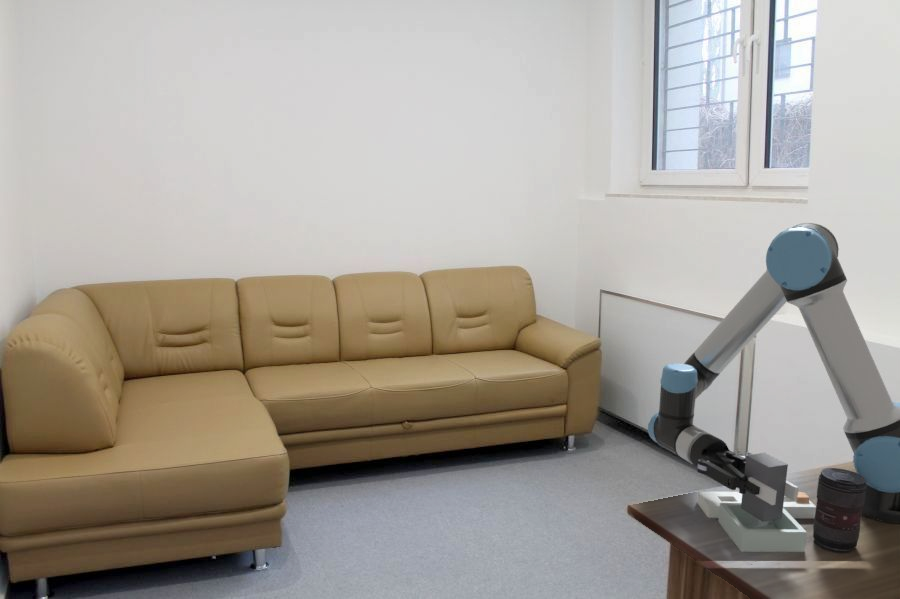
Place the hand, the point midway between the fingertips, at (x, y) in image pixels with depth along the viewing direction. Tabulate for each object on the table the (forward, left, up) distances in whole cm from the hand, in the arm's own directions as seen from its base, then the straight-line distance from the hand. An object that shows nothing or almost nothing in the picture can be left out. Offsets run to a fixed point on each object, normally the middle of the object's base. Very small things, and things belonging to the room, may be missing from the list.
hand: (785, 496), depth 146 cm
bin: (+5, -1, -12) cm, 13 cm away
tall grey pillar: (+5, -1, -8) cm, 10 cm away
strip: (+12, -11, -12) cm, 20 cm away
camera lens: (-5, -11, -12) cm, 17 cm away
